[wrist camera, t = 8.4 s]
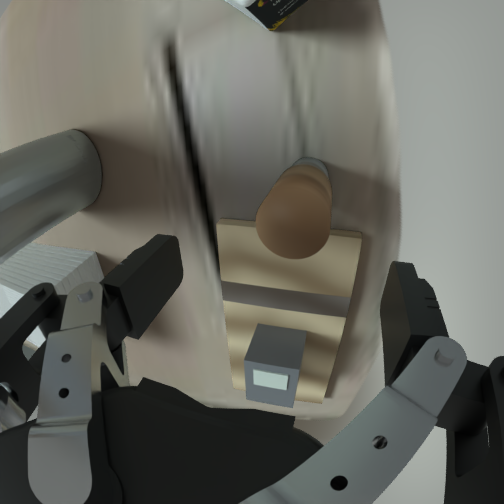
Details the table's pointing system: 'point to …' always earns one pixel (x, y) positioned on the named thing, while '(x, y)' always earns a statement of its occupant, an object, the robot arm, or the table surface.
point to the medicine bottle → (267, 10)
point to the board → (287, 298)
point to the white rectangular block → (45, 274)
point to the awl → (297, 211)
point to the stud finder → (274, 364)
